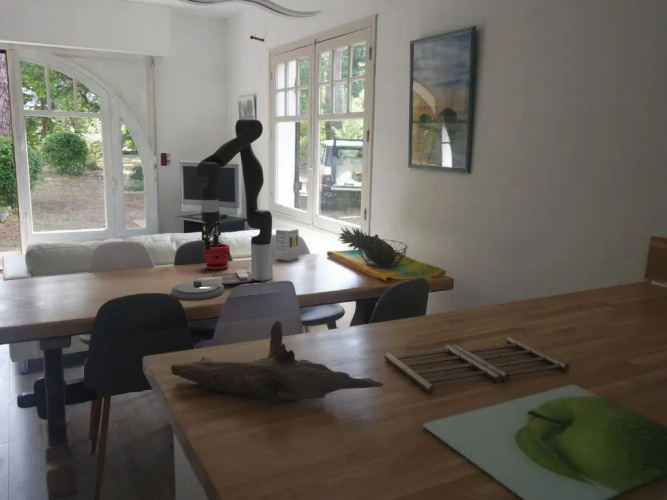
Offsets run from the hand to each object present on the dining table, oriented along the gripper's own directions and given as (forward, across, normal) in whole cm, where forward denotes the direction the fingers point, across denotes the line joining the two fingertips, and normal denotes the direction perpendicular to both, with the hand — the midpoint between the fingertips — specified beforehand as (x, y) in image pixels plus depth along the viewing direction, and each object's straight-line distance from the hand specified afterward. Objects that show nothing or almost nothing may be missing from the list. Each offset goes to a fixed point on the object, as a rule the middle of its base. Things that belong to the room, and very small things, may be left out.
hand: (212, 248), depth 243 cm
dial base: (+20, 0, +8) cm, 21 cm away
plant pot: (+21, +47, +19) cm, 55 cm away
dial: (+18, 0, +7) cm, 19 cm away
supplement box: (+22, +78, -10) cm, 82 cm away
